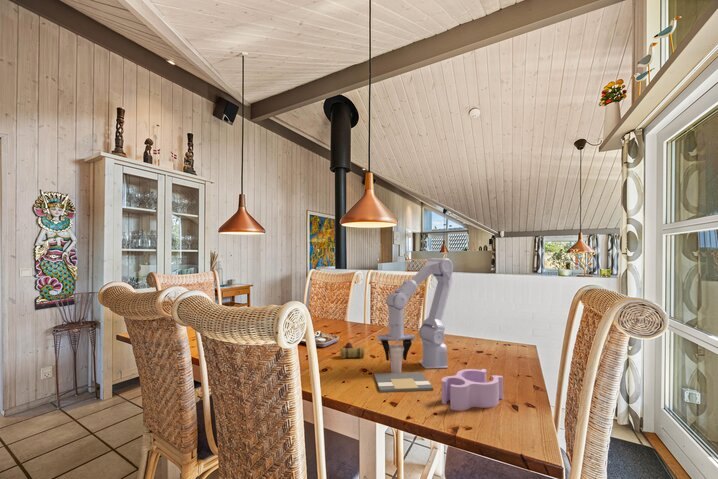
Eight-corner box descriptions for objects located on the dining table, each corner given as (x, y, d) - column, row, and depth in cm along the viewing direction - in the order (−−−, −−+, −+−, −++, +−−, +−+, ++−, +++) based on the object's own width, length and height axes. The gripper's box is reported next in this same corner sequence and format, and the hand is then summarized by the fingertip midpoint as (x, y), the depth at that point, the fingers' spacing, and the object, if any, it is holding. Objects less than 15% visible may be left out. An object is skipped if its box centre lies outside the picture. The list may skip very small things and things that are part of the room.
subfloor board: (421, 374, 120) (421, 371, 120) (433, 390, 106) (433, 387, 106) (374, 375, 118) (374, 373, 118) (380, 392, 104) (380, 389, 104)
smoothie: (400, 376, 118) (400, 338, 118) (384, 373, 121) (384, 335, 122) (407, 371, 123) (407, 334, 124) (392, 367, 127) (392, 332, 127)
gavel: (338, 339, 157) (358, 338, 158) (338, 348, 157) (358, 348, 158) (341, 349, 137) (364, 348, 138) (341, 360, 136) (364, 359, 137)
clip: (461, 416, 89) (461, 391, 90) (433, 398, 101) (432, 376, 101) (510, 402, 98) (510, 379, 99) (479, 386, 109) (478, 366, 110)
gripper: (411, 321, 128) (411, 355, 127) (376, 322, 126) (375, 356, 126) (416, 325, 121) (416, 361, 120) (378, 326, 119) (378, 362, 119)
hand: (396, 359), depth 122 cm, fingers closed on smoothie, 6 cm apart
